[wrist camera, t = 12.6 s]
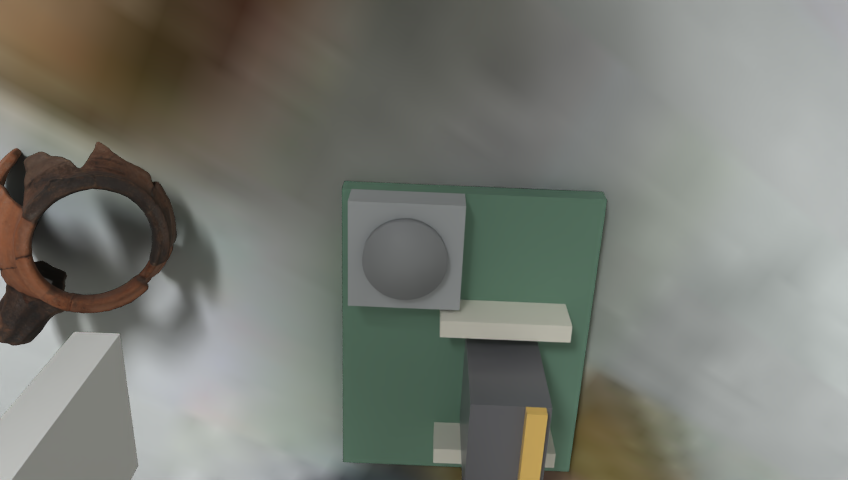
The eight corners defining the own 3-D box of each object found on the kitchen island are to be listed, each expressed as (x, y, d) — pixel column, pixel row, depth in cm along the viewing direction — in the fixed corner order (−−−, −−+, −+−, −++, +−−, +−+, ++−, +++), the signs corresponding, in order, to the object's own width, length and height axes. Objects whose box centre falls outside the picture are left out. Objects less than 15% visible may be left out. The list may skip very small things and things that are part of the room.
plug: (465, 331, 44) (471, 411, 37) (535, 334, 44) (554, 415, 37) (459, 418, 47) (463, 508, 40) (525, 421, 47) (541, 512, 40)
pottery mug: (16, 89, 41) (30, 128, 34) (182, 156, 47) (222, 199, 40) (-71, 289, 42) (-74, 362, 36) (100, 329, 48) (126, 399, 41)
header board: (344, 181, 42) (336, 205, 39) (602, 191, 42) (617, 217, 39) (345, 449, 49) (338, 490, 46) (565, 458, 49) (575, 500, 46)
